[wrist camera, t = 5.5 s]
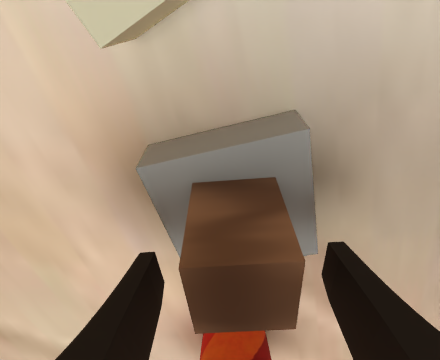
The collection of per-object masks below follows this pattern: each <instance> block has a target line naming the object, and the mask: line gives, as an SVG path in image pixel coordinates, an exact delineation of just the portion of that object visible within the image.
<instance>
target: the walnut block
mask: <svg viewBox="0 0 440 360" xmlns="http://www.w3.org/2000/svg"><path fill="white" fill-rule="evenodd" d="M304 267H305V259H304V256H303V253H302V251H301V248H300V245H299V242H298V239H297V236H296V234H295V231H294V228H293V225H292V222H291V219H290V217H289V214H288V211H287V208H286V205H285V202H284V200H283V197H282V194H281V191H280V188H279V185H278V183H277V180H276V177H269V178H255V179H240V180H226V181H212V182H198V183H192V188H191V194H190V200H189V207H188V213H187V219H186V225H185V232H184V238H183V244H182V250H181V257H180V263H179V272H180V276H181V280H182V284H183V288H184V292H185V295H186V299H187V303H188V307H189V311H190V315H191V319H192V323H193V327H194V331H195V334H201V333H222V332H244V331H265V330H286V329H296V323H297V316H298V309H299V302H300V295H301V288H302V281H303V274H304Z"/></svg>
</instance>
